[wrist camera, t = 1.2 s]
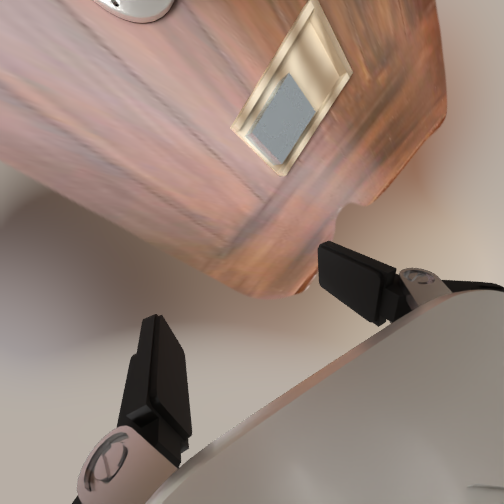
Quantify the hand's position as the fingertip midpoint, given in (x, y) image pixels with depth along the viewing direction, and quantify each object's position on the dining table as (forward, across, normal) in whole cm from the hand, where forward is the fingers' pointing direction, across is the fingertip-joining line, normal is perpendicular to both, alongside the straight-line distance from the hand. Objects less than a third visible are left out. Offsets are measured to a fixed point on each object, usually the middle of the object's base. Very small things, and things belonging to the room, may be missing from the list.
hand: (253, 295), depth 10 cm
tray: (+26, -22, -13) cm, 36 cm away
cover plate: (+25, -18, -10) cm, 33 cm away
